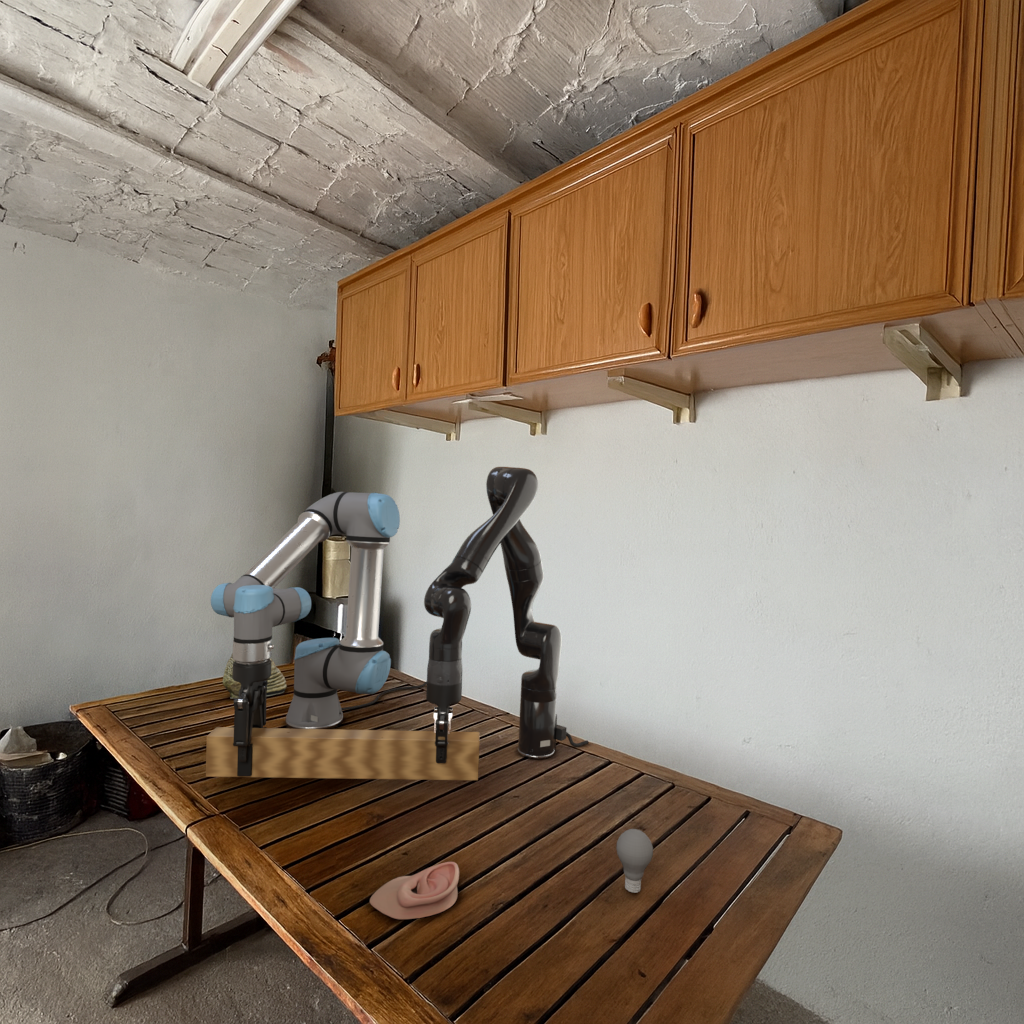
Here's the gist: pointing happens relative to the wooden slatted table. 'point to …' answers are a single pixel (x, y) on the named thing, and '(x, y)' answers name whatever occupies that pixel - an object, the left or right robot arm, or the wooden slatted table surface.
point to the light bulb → (634, 857)
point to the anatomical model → (419, 893)
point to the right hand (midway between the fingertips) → (441, 756)
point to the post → (345, 754)
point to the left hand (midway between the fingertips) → (249, 768)
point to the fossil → (274, 682)
